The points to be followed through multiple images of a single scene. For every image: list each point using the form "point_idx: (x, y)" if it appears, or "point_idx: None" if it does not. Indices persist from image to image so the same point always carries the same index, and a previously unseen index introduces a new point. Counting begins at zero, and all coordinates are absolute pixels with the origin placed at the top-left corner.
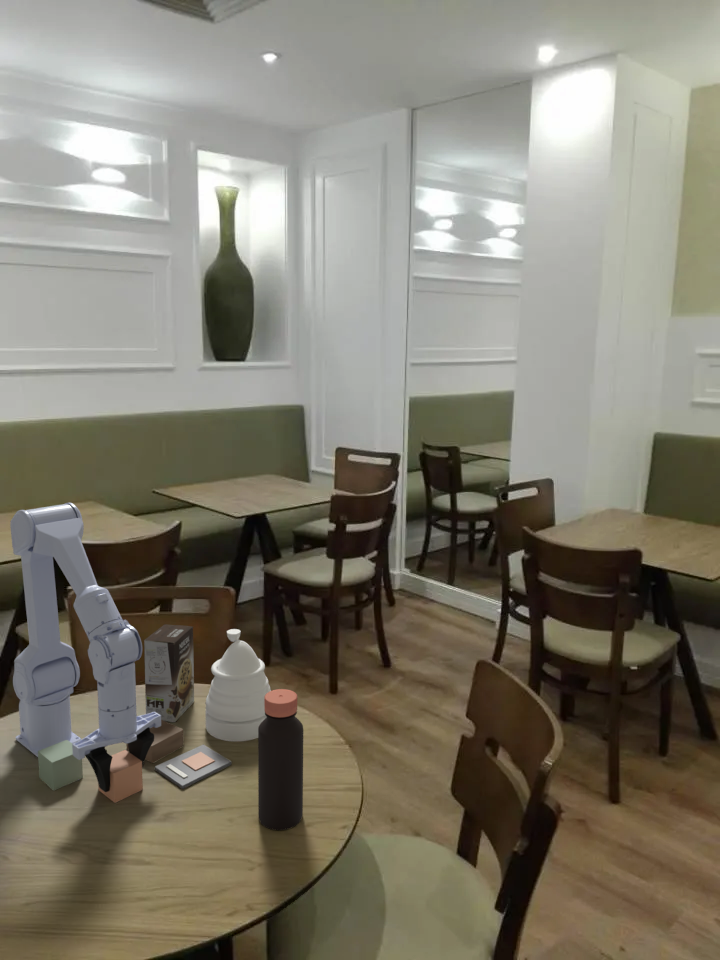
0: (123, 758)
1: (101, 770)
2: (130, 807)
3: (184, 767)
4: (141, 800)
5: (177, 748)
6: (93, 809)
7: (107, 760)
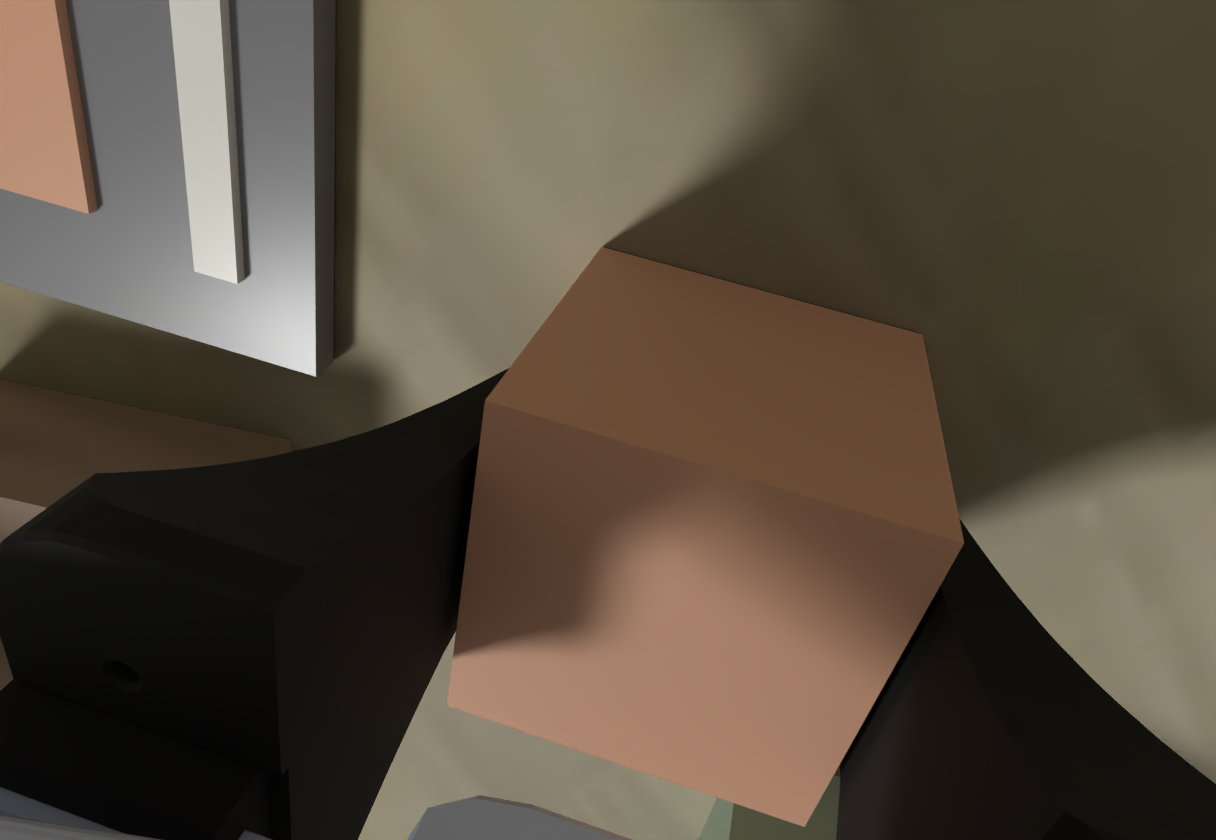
0: (587, 632)
1: (1136, 721)
2: (921, 127)
3: (119, 111)
4: (754, 116)
5: (43, 394)
6: (1104, 440)
7: (1152, 820)
